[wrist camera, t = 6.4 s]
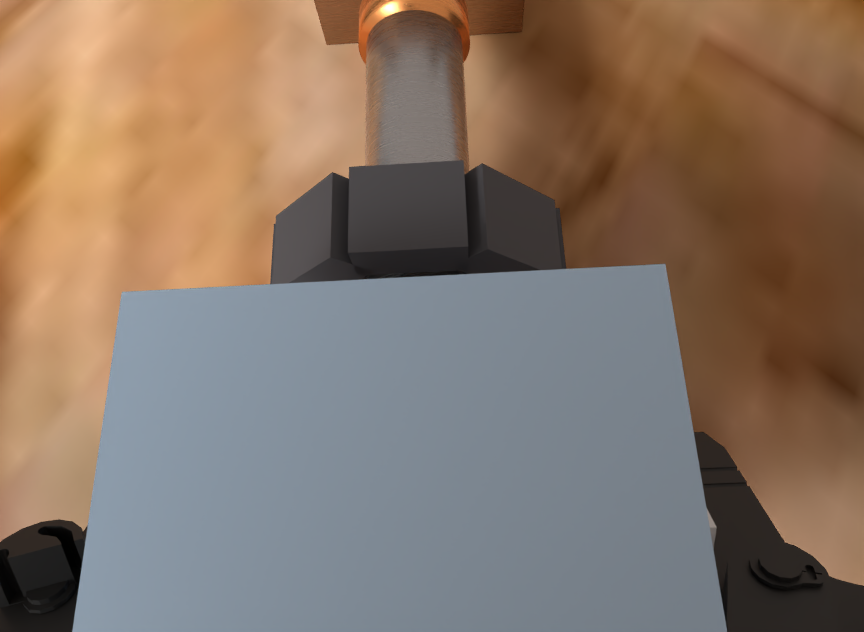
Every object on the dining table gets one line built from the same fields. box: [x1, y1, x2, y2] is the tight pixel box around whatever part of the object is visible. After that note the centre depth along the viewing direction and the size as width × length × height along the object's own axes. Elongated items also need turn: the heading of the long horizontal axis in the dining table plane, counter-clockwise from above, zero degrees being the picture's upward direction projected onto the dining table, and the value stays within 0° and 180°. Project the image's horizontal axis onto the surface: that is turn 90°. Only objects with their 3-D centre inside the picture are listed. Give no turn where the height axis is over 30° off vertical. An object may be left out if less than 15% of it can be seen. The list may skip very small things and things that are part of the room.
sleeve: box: [72, 264, 727, 632], centre depth 12 cm, size 6×7×10 cm
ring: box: [270, 160, 566, 284], centre depth 15 cm, size 2×6×6 cm, turn 92°
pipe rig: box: [314, 0, 524, 279], centre depth 18 cm, size 25×7×7 cm, turn 2°
